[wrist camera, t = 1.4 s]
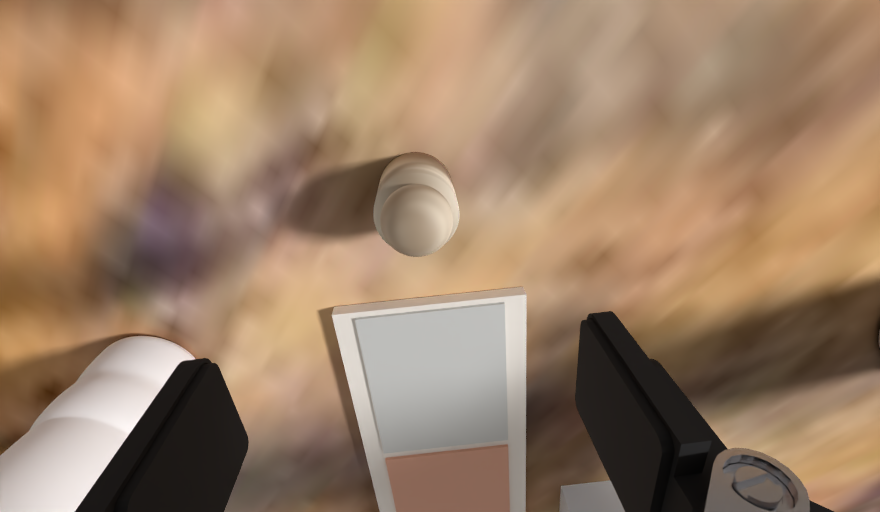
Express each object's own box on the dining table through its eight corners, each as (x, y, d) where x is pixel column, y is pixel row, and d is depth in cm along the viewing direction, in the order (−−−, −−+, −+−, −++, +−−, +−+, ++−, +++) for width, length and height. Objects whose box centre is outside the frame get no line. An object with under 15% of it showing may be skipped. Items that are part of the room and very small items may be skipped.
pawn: (449, 148, 25) (461, 184, 19) (454, 218, 27) (467, 271, 21) (374, 156, 25) (360, 194, 19) (385, 225, 27) (376, 281, 21)
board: (522, 286, 29) (527, 296, 28) (523, 528, 42) (526, 542, 41) (334, 306, 29) (331, 317, 28) (390, 543, 42) (390, 557, 40)
